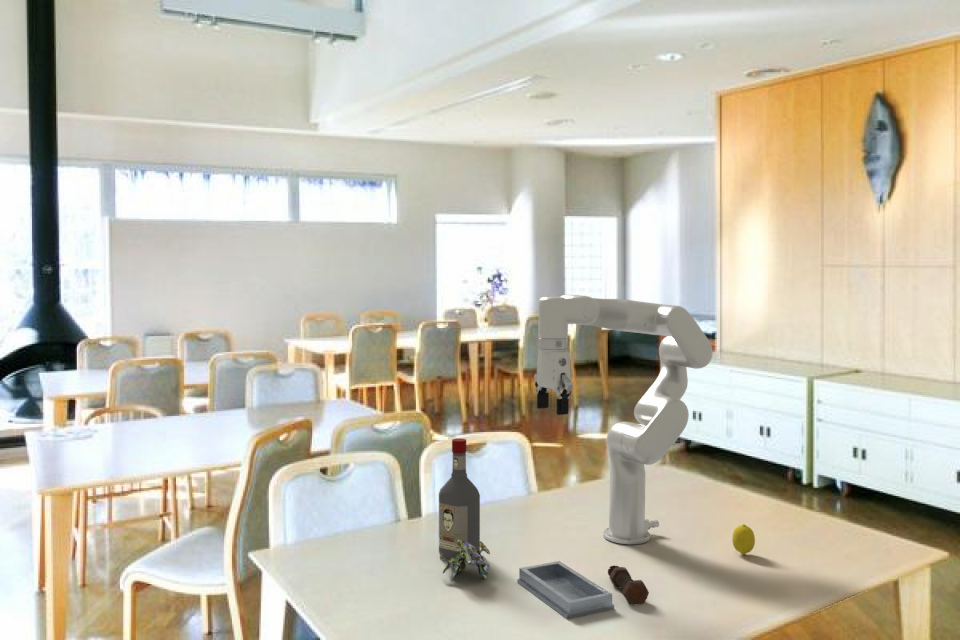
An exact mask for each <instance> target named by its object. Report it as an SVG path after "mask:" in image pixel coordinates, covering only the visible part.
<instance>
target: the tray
mask: <svg viewBox="0 0 960 640" xmlns="http://www.w3.org/2000/svg"><path fill="white" fill-rule="evenodd" d="M518 574H519V578H517V580H516V581H517V582H518V583H517V584H519V585H520V586H522V587H523V588H524V589H525V590H527V591H528V592H530V593H531V594H533V596H535V597H537V598H538V599H539V600H540V601H541V602H543V603H544V604H546V605H547V606H549V607H550V608H551V609H553V610H554V611H555V612H557V613H558V614H559V615H561V616H562V617H563V618H565V619H566V620H568V619H573V618H574V619H575V618H578V617H583V616H588V615H592V614H597V613H601V611H602V612H606V611H610V609H611V610H615V604H614V603H613V593H611V592H610V591H608V590H607V589H605V588H603V587H601V586H600V585H598V584H597V583H595V582H594V581H592V580H590V579H589V578H587V577H586V576H584V575H582V574H580V572H578V571H576V570H574V569H573V568H571V567H570V566H568V565H566V564H565V563H563V562H561V561H560V560H559V561H558V560H557V561H552V562H547V563H541V564H536V565H530V566H525V567H519V573H518Z"/></svg>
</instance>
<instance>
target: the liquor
mask: <svg viewBox="0 0 960 640" xmlns="http://www.w3.org/2000/svg"><path fill="white" fill-rule="evenodd" d="M451 452H452V465H451V466H452V471H451V475H450V477H449V479H448V480H447V481H446V483H444V485H443V486H442V487H441V488H440V490H439V491H438V553H439V554H440V553H442V554H443V556H442V557H444V558H445V559H446V560H447V561H450V559H451V558H454V559H455V558H456V556H457V555H458V554H459V555H460V552H461V548H460V547H459V545H458V543H457V541H458V540H461V541H462V542H463V543H465V541H466V542H467V543H468V542H469V544H471V545H472V546H474V547H475V548H476V550H477V551H480V550H481V547H480V544H479V542H480V541H481V539H480V537H481V534H480V533H481V525H480V523H481V520H480V519H481V513H480V512H481V502H480V501H481V495H480V492H479V489H478V487H476V485H475V484H474V483H473V482H472V481H471V480H470V479H469V477H468V473H467V457H466V456H467V439H466V438H459V437H458V438H456V437H455V438H452V439H451ZM442 560H444V559H443V558H442ZM446 560H445V561H446Z"/></svg>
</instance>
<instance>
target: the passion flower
mask: <svg viewBox="0 0 960 640" xmlns="http://www.w3.org/2000/svg"><path fill="white" fill-rule="evenodd" d="M457 543H458V545H459V547H460V548H461V552H460V555H459V554H458V555H457V556H456V558H455V559H454V558H451V559H450V560H446V559H445V558H444V557H442V556H443V554H442V553H439V559H440V561H442V560H444V561H446V562H447V565H446V566H445V568H443V571H442V574H444V573H446V571H448V570H449V569H450V568H451V567H452V576H451V579H450V582H452V581H453V579H454V578H455V577H456V576H458V574H459V573H460V571H463V570H465V568H466V566H468V565H470V566H475V565H476V567H477V571H478V575H479V576H480V578H481V580H484V581H486V579H487V575H489V572H487V571H488V569H489V567H490V566H489V563H487V561H486V557H485V556H484V555H482V552H485V553H487V554H488V555H490V554H491V553H490V549H489V548H487V545H485V544H484V543H483V542H482V541H481V540H480V542H479V544H480V551H477V550H476V548H475V547H474V546H472V545H471V544H469V542H468V543H467V542H466V541H465V543H463V542H462V541H461V540H458V541H457ZM442 558H443V559H442Z"/></svg>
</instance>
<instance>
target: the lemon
mask: <svg viewBox="0 0 960 640" xmlns="http://www.w3.org/2000/svg"><path fill="white" fill-rule="evenodd" d="M731 538H732V546H733V548H734V549H735V551H737V552H739V553H740V554H741V555H742V556H744V555H746V554H748V553H751V552H752V551H753V549H754V547H755V544H756V538H755V534H754V530H752V528H751V527H750V526H747V525H746V524H745V523H743V524H741V525H738V526H737V527H735V529H734V530H733V533H732V537H731Z"/></svg>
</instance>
